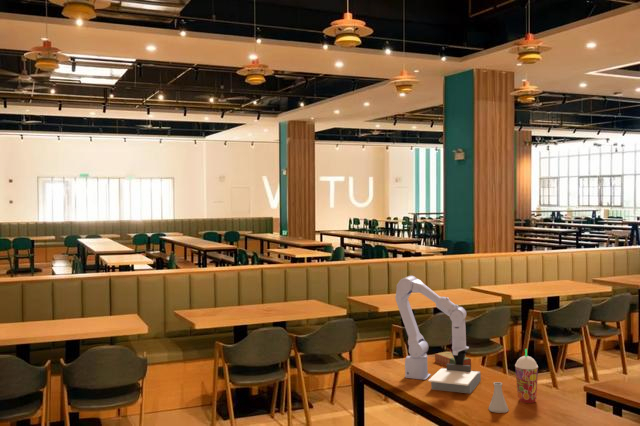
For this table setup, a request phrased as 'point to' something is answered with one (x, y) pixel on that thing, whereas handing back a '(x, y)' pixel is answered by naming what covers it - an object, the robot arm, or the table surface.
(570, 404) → the table surface
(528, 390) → the smoothie
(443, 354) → the carton
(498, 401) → the flask
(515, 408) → the table surface
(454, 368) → the lid
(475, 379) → the box
